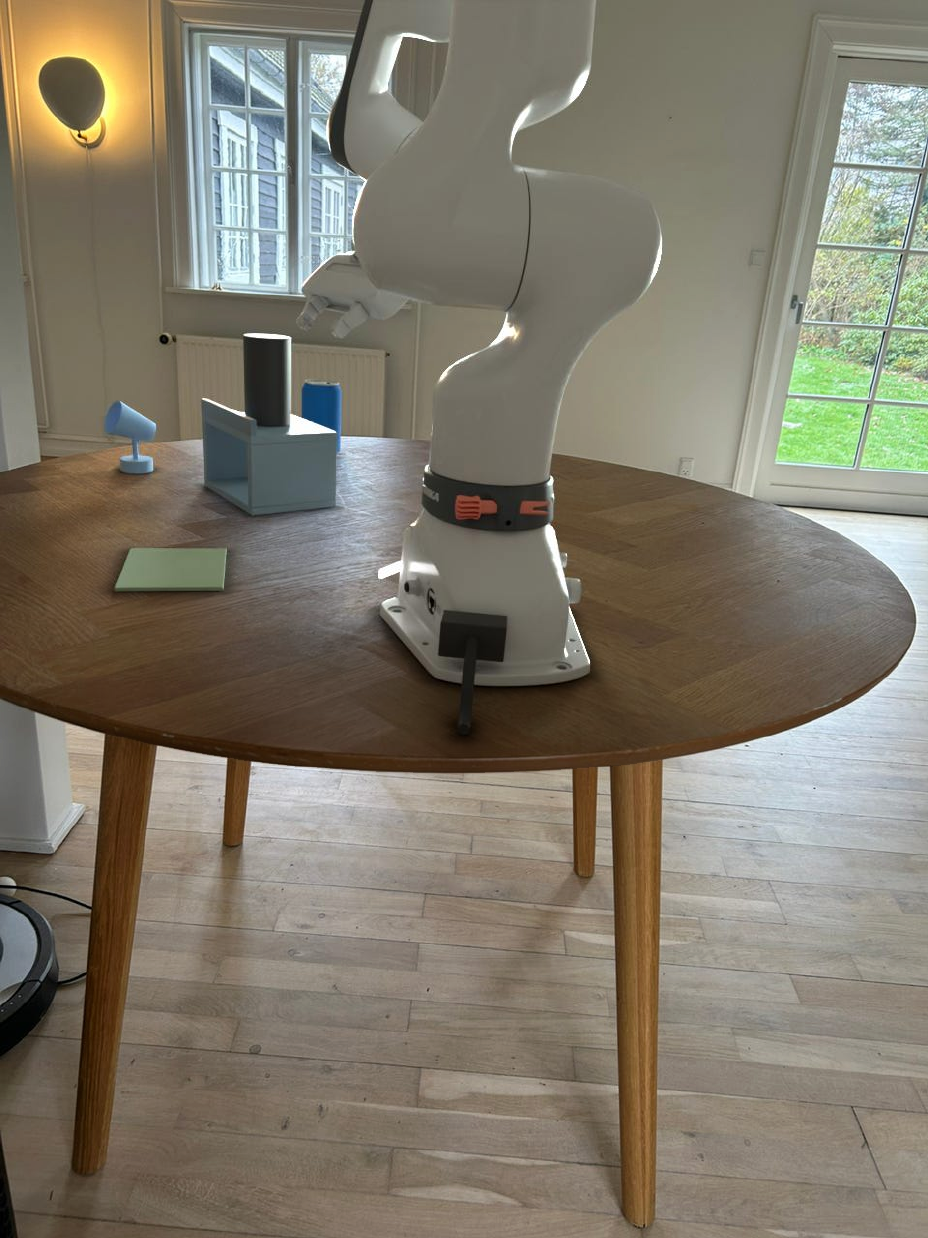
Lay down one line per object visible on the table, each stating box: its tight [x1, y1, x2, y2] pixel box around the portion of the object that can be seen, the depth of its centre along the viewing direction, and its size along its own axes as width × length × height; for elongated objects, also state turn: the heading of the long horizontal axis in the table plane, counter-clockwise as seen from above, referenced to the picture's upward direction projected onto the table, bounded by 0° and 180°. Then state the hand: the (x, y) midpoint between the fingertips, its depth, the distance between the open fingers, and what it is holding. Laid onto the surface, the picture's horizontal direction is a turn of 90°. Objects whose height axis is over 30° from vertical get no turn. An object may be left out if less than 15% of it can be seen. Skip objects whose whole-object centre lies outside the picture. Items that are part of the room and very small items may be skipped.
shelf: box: [200, 397, 338, 517], centre depth 115 cm, size 16×12×12 cm
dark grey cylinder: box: [242, 333, 292, 427], centre depth 111 cm, size 6×6×11 cm
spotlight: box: [103, 400, 157, 474], centre depth 122 cm, size 5×10×7 cm
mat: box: [114, 547, 227, 592], centre depth 88 cm, size 12×10×1 cm
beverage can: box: [300, 378, 343, 454], centre depth 141 cm, size 6×6×12 cm
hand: (317, 330), depth 113 cm, fingers open, 8 cm apart
